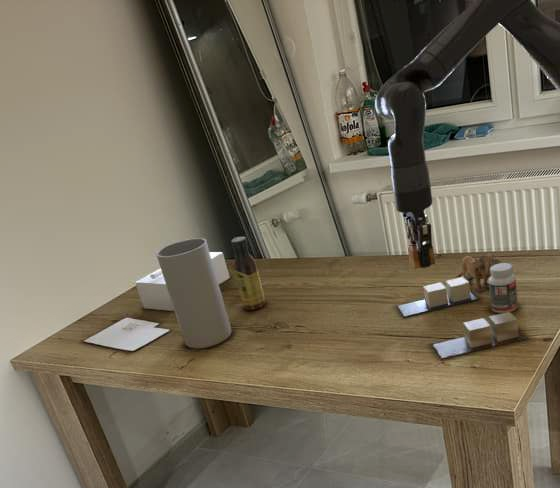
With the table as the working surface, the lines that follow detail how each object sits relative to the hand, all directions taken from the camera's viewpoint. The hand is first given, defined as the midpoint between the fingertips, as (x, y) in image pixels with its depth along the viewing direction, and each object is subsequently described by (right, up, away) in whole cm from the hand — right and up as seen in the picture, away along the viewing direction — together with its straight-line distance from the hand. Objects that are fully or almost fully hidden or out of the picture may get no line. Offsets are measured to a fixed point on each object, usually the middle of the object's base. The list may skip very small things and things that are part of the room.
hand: (422, 262), depth 147 cm
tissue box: (-60, +1, +67) cm, 90 cm away
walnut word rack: (+11, -17, -5) cm, 21 cm away
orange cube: (0, 0, 0) cm, 0 cm away
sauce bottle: (-38, -5, +43) cm, 57 cm away
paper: (-73, -13, +46) cm, 87 cm away
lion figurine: (+18, -2, +21) cm, 28 cm away
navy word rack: (+7, -7, +17) cm, 20 cm away
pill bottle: (+20, -9, +6) cm, 23 cm away
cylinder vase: (-49, -15, +30) cm, 59 cm away
